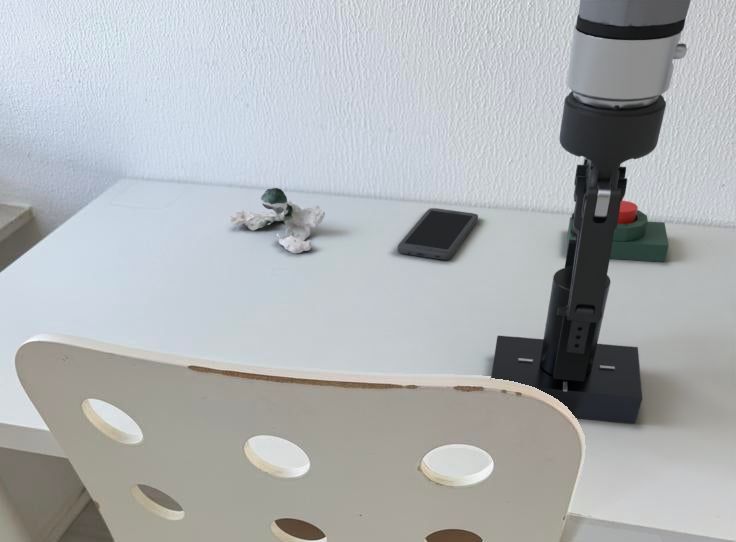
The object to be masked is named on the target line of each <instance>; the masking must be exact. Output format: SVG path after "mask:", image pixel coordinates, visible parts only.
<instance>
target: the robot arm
mask: <svg viewBox="0 0 736 542" xmlns="http://www.w3.org/2000/svg"><path fill="white" fill-rule="evenodd" d="M691 2H692V0H579V7H578V12H577V18H576V23H575V25H574V28H573V36H572V43H571V49H570V56H569V62H568V69H567V70H568V71H567V76H566V86H567V87H568V88H569V89H570V90H571V91H570V92H569V93H568V95H566V96H565V98H564V103H563V110H562V117H561V123H560V131H559V137H558V139H559V144H560V145H561V148H562V149H564V151H566V152H567V153H569V154H571V155H572V156H575V157H578V158H580V157H583V164H577V165H576V170H575V175H574V183H573V184H574V192H573V201H574V202H575V204H574V209H573V213H572V214H571V217H572V218H571V219H572V220H573V222H572V223H573V225H572V228H571V230H570V233H571V237H575V238H576V239H575V240H569V244H568V250H567V249H566V257H565V262H564V268H566V267H572V266H573V273H572V280H571V287H570V294H569V301H568V305H567V306H566V307H559V308H558V314H557V315H558V316H564V317H563V323H562V329H561V334H560V340H559V346H558V352H557V357H556V363H555V369H554V375H553V379H564V380H574V381H585V376H586V372H587V367H588V362H589V357H590V353H591V348H592V343H593V338H594V333H595V329H596V324H597V323H599V321H600V318H601V317H602V312H601V309H602V302H603V296H604V290H605V284H606V278H607V275H608V271H609V266H610V260H611V259H610V254H611V248H612V242H613V236H614V232H615V230H616V228H617V225H618V218H619V211H620V204H621V201H624V198H625V195H626V191H627V185H628V178H627V177H626V172H627V166H622V164H623V163H624V162H627V161H630V160H632V159H633V160H638V159H641V158H644V157H646V156H648V155H650V154H651V153H652V152H653V151H654V150H655V149H656V147H657V146H658V142H659V138H660V133H661V129H662V124H663V121H664V115H665V111H666V108H667V101H666V100H665V98H664V96H663V94H665V93H666V92H668V91H669V89H670V85H671V82H672V77H673V73H674V68H675V65H674V61H673V60H682V59H684V58H685V57H686V55H687V51H688V48H687V44H686V43H683V42H681V43H680V41H681V37H682V32H683V31H684V28H685V23H686V20H687V16H688V12H689V8H690V5H691Z"/></svg>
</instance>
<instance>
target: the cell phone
mask: <svg viewBox="0 0 736 542" xmlns="http://www.w3.org/2000/svg"><path fill="white" fill-rule="evenodd" d="M478 219H479V215H478V214H477V213H474V212H468V211H460V210H459V211H458V210H451V209H444V208H436V207H431V208H428V209H427V210H426V211H425V212H424V214H422V216H421V217H420V218H419V220H418V221H417V222H416V223H415V224H414V225H413V227H412V228H411V229H410V230H409V231H408V233H406V235H405V236H404V237H403V239H401V241H400V242H399V243H398V245H397V252H398V253H400V254H405V255H411V256H418V257H425V258H431V259H436V260H443V261H444V260H445V261H446V260H450V259H451V258H452V257H453V256H454V254H455V253H456V252H457V250H458V249H459V247H460V246H461V245H462V243H463V242H464V241H465V239H466V237H467V236H468V235H469V234H470V232H471V231H472V230H473V228H474V227H475V225H476V224H477V222H478Z"/></svg>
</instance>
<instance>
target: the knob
mask: <svg viewBox="0 0 736 542" xmlns="http://www.w3.org/2000/svg"><path fill="white" fill-rule="evenodd" d="M572 273H573V266H572V267H566V268H565V267H563V268H560V269H558V270H557V271H555V273H554V275H553V276H552V277H553V279H552V284H551V290H550V296H549V302H548V308H547V315H546V321H545V328H544V334H543V339H544V340H543V346H542V352H541V359H540V364H541V367H542V368H543V369H544V370H545V371H546V372H548V373H549V374H551V375H554V369H555V363H556V357H557V352H558V346H559V340H560V334H561V329H562V323H563V317H564V316H558V315H557V314H558V308H559V307H566V306H567V305H568V301H569V294H570V287H571V280H572ZM610 286H611V278H610V276H609V275H608V274H607V278H606V284H605V290H604V296H603V302H602V309H601V312H602V317H601V318H600V321H599V323H597V324H596V329H595V333H594V338H593V343H592V348H591V353H590V357H589V362H588V367H587V372H586V374H588V373H589V372H590V371H591V369H592V366H593V362H594V357H595V352H596V348H597V344H599V343H598V342H599V338H600V333H601V328H602V324H603V319H604V315H605V310H606V306H607V302H608V301H607V300H608V295H609V292H610V288H611V287H610Z"/></svg>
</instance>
